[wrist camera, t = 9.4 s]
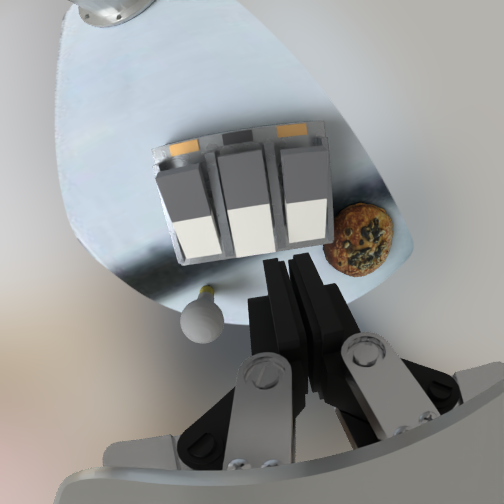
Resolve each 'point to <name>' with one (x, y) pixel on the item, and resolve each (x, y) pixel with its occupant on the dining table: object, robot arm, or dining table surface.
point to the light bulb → (202, 318)
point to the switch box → (270, 144)
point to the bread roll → (359, 240)
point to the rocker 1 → (190, 210)
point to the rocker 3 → (305, 192)
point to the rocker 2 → (247, 202)
